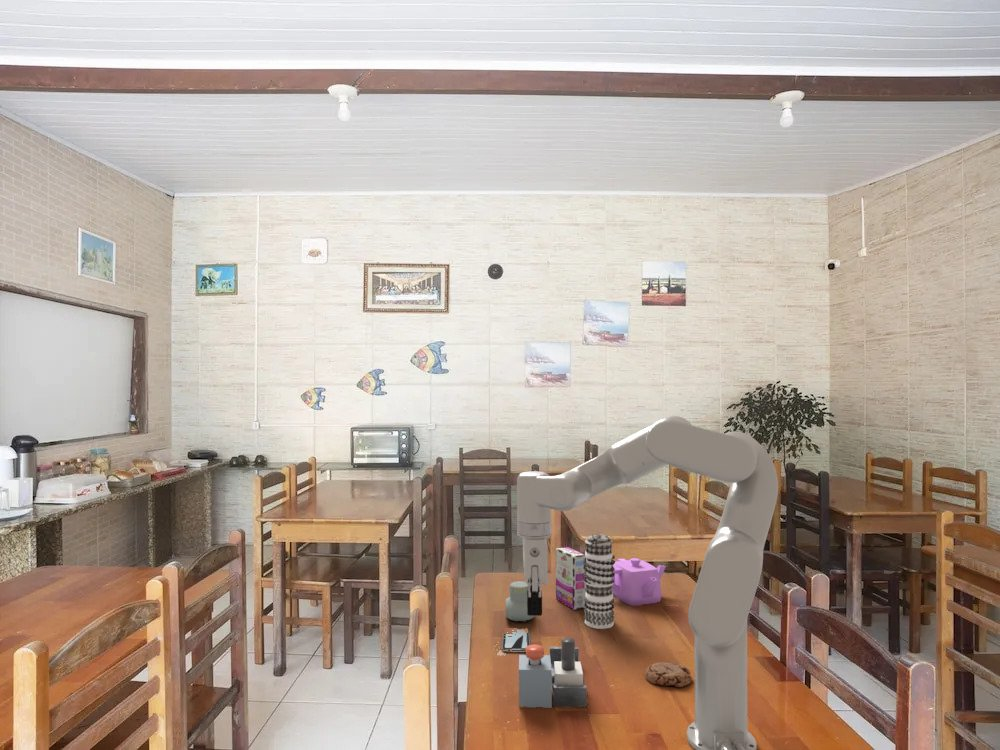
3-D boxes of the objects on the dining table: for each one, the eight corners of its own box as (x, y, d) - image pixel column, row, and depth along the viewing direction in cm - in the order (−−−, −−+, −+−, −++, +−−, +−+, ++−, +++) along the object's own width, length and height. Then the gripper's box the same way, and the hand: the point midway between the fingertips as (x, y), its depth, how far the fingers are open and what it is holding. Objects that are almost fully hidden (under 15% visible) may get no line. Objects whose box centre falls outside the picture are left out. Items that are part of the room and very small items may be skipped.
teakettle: (617, 585, 205) (616, 549, 205) (667, 593, 197) (667, 555, 197) (602, 602, 189) (602, 562, 189) (656, 610, 182) (656, 570, 182)
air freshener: (534, 625, 171) (534, 590, 171) (505, 625, 171) (505, 590, 171) (533, 611, 182) (533, 578, 182) (506, 611, 182) (506, 578, 182)
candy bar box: (587, 608, 184) (587, 554, 184) (573, 611, 182) (573, 556, 182) (568, 596, 194) (568, 545, 194) (555, 599, 192) (554, 547, 192)
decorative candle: (622, 626, 170) (621, 538, 170) (593, 631, 167) (593, 541, 167) (604, 614, 179) (604, 531, 179) (577, 619, 175) (577, 534, 175)
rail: (586, 707, 128) (586, 688, 128) (553, 706, 128) (553, 687, 128) (578, 663, 148) (577, 646, 148) (549, 662, 148) (549, 646, 148)
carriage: (585, 695, 130) (585, 646, 130) (552, 694, 131) (552, 646, 131) (583, 681, 136) (582, 635, 136) (551, 681, 137) (551, 634, 137)
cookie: (637, 673, 143) (637, 661, 143) (674, 666, 147) (674, 654, 147) (661, 694, 134) (661, 680, 134) (700, 685, 137) (700, 672, 137)
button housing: (551, 707, 128) (551, 670, 128) (519, 707, 128) (518, 669, 128) (550, 690, 135) (550, 655, 135) (519, 690, 135) (519, 654, 135)
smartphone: (529, 627, 169) (530, 650, 154) (529, 630, 169) (530, 653, 154) (503, 627, 169) (501, 649, 154) (503, 630, 169) (501, 653, 154)
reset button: (544, 678, 129) (544, 652, 129) (525, 678, 129) (525, 652, 130) (543, 669, 133) (543, 644, 133) (525, 669, 133) (525, 644, 134)
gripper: (553, 538, 124) (553, 627, 123) (549, 519, 140) (549, 598, 140) (516, 537, 124) (517, 627, 124) (517, 519, 140) (517, 598, 140)
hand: (534, 611), depth 132 cm, fingers open, 2 cm apart
